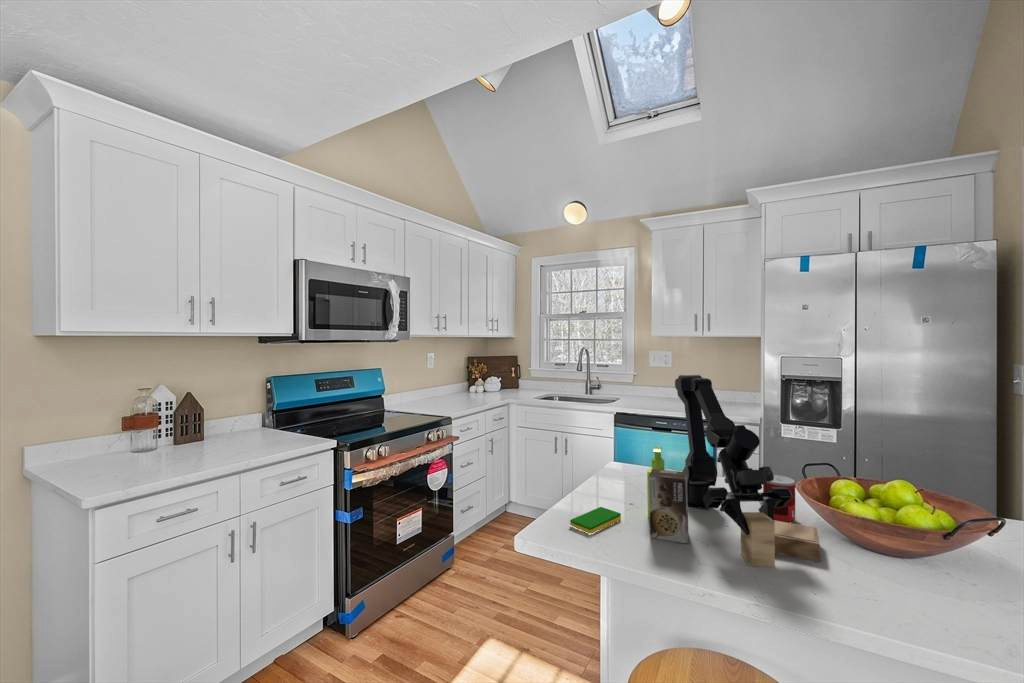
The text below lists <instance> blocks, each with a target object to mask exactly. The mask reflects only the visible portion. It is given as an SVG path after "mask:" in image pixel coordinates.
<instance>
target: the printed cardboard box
mask: <svg viewBox="0 0 1024 683" xmlns="http://www.w3.org/2000/svg"><path fill="white" fill-rule="evenodd" d="M651 469H652V468H651ZM648 479H649V510H650V519H649V538H651V539H654V538H655V539H656V540H662V541H668V542H675V543H682V544H688V541H689V535H690V534H689V508H688V507H689V506H688V495H687V472H682V471H680V470H679V471H677V470H668V469H665V470H658V469H652V470H651V472H650V474H649V476H648Z"/></svg>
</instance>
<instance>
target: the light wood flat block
mask: <svg viewBox="0 0 1024 683" xmlns="http://www.w3.org/2000/svg"><path fill="white" fill-rule="evenodd" d="M774 525H775V554H779V555H784V556H790V557H794V558H798V559H799V558H800V559H804V560H808V561H813V562H817V561H818V563H820V562H821V554H820V553H821V550H820V549H821V547H820V546H821V544H820V537H819V533H818V528H817V527H815V526H810V525H804V524H798V523H795V522H793V523H788V522H782V521H776V520H774Z"/></svg>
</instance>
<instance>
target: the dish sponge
mask: <svg viewBox="0 0 1024 683" xmlns="http://www.w3.org/2000/svg"><path fill="white" fill-rule="evenodd" d="M621 515H622V514H621V512H618V511H614V510H611V509H609V508H607V507H603V506H599V507H596V508H594V509H593V510H590V511H588V512H585V513H583V514H581V515H577V516H576V517H574V518H572V519H570V520H569V523H570V524H569V526H570V525H572V526H574V527H576V528H578V529H581V530H583V531H585V532H588V533H593V532H595V531H597V530H600V529H602V528H605V527H606V526H609V525H611V524H613V523H615V522H617V521H619V520H622V516H621ZM619 522H620V521H619ZM617 523H618V522H617ZM615 524H616V523H615ZM613 525H614V524H613ZM611 526H612V525H611ZM609 527H610V526H609ZM605 529H606V528H605Z"/></svg>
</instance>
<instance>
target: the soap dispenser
mask: <svg viewBox="0 0 1024 683" xmlns="http://www.w3.org/2000/svg"><path fill="white" fill-rule="evenodd" d="M662 449H663V448H662V446H659V445H658V446H656V445H654V447H653V450H652V451H653V452H652V453H653V454H654V456H653V457H651V468H648V469H647V470H646V472H647V473H646V476H647V478H646V481H647V482H646V484H647V486H646V487H647V518H648V519H649V518H650V510H649V479H648V476H649V474H650V472H651V470H652V469H658V470H666V469H665V459H664V458H663V457H662Z"/></svg>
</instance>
